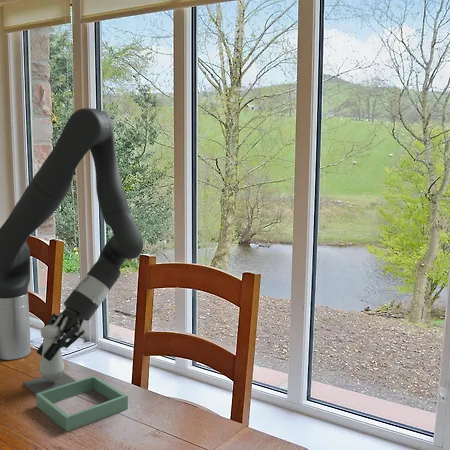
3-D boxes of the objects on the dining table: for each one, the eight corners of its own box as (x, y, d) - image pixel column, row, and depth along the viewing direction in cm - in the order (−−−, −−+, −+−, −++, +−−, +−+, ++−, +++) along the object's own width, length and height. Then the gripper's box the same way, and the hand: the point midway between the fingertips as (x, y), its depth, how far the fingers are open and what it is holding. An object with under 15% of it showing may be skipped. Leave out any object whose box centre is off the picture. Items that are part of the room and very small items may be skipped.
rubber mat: (23, 384, 134) (23, 382, 134) (61, 373, 141) (61, 371, 141) (41, 399, 127) (41, 396, 127) (80, 386, 134) (80, 383, 134)
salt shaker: (34, 379, 133) (31, 327, 131) (52, 370, 138) (49, 320, 136) (52, 384, 130) (49, 331, 128) (70, 375, 135) (67, 324, 133)
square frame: (36, 406, 123) (35, 393, 123) (94, 387, 133) (94, 375, 133) (67, 431, 113) (66, 417, 112) (128, 408, 123) (127, 395, 122)
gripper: (63, 283, 141) (19, 341, 134) (91, 294, 130) (44, 357, 124) (83, 299, 145) (41, 356, 139) (111, 311, 135) (67, 373, 128)
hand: (43, 356), depth 131 cm, fingers closed on salt shaker, 3 cm apart
